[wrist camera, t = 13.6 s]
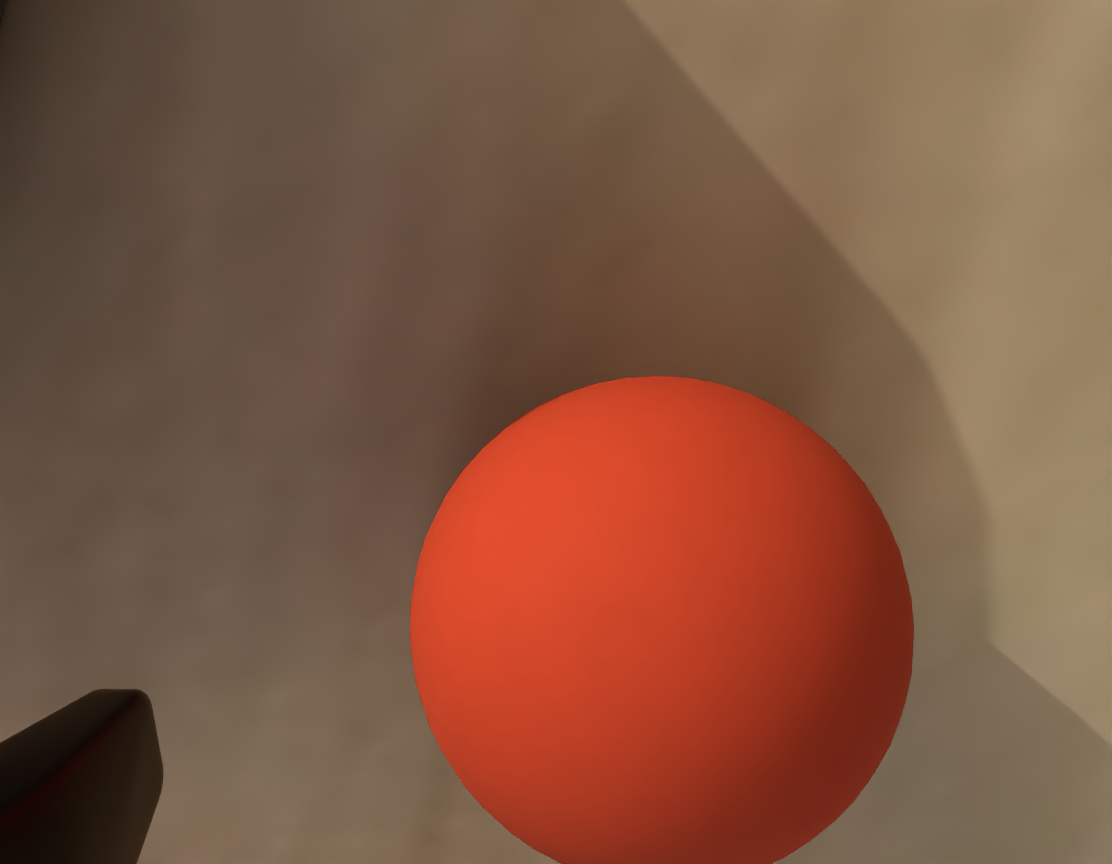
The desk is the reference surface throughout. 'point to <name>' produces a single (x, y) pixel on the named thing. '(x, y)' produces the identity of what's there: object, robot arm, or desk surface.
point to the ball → (661, 627)
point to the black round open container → (1, 7)
